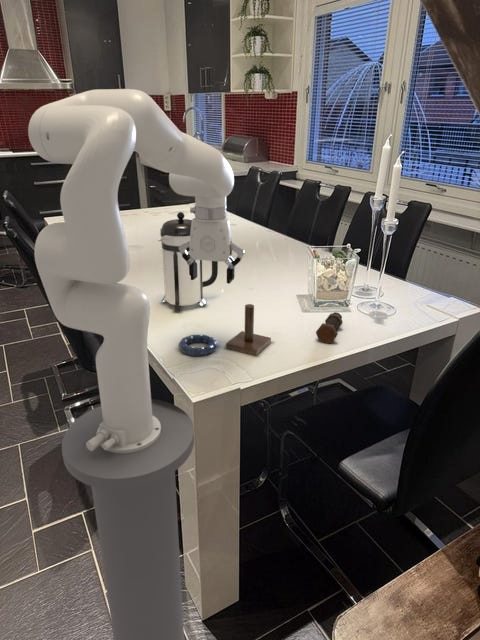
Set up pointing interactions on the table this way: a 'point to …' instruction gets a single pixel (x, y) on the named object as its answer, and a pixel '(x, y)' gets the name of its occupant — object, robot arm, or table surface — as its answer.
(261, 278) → the table surface
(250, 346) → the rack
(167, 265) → the coffee press
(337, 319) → the bolt
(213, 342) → the ring
